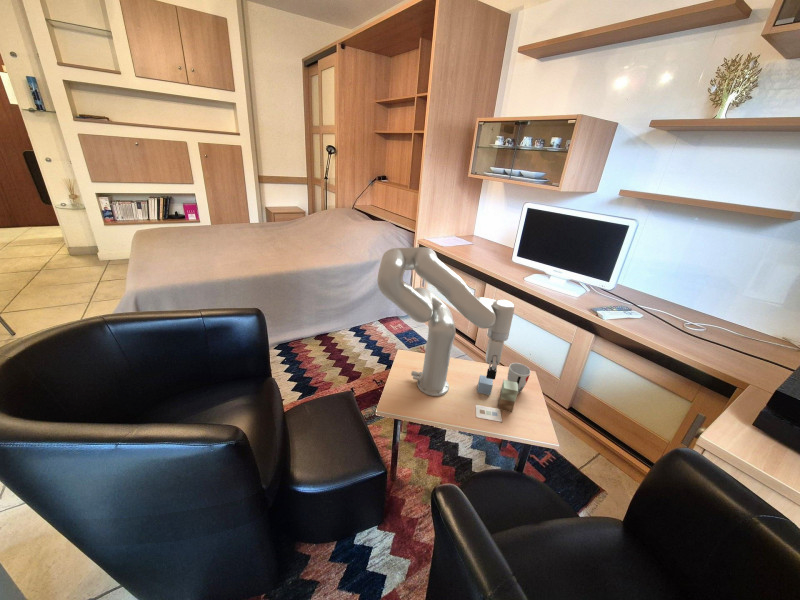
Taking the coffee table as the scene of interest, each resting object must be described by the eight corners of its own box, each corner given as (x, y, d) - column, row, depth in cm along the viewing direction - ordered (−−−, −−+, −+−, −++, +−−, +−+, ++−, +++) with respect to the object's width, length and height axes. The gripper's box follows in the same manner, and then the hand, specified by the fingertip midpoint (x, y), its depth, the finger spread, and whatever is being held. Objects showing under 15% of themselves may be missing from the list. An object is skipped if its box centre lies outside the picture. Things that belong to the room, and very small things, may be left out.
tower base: (498, 409, 123) (503, 387, 119) (498, 400, 127) (503, 379, 123) (511, 412, 122) (518, 391, 118) (511, 403, 126) (517, 382, 122)
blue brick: (477, 392, 130) (479, 382, 128) (477, 384, 135) (480, 374, 133) (490, 395, 129) (492, 385, 127) (490, 387, 134) (492, 377, 132)
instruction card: (476, 417, 118) (476, 416, 118) (475, 405, 124) (475, 404, 124) (501, 422, 117) (502, 421, 117) (500, 409, 123) (500, 408, 122)
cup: (511, 396, 130) (516, 376, 125) (500, 383, 137) (505, 363, 132) (528, 394, 132) (535, 374, 128) (517, 381, 139) (522, 361, 135)
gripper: (488, 320, 130) (481, 356, 137) (487, 343, 114) (479, 382, 121) (508, 323, 128) (500, 360, 135) (509, 346, 113) (500, 386, 120)
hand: (490, 370), depth 128 cm, fingers open, 9 cm apart
